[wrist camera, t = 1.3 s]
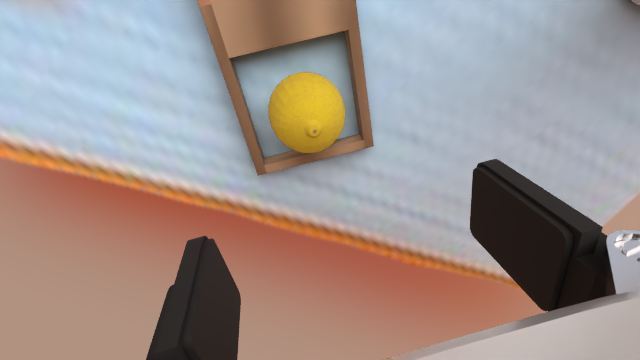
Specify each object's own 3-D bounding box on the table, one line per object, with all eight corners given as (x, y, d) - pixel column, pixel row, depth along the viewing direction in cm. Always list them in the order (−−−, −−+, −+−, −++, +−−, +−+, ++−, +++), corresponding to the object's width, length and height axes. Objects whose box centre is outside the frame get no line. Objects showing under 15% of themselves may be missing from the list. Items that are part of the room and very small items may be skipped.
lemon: (287, 140, 28) (295, 183, 21) (255, 83, 26) (252, 113, 19) (342, 111, 28) (369, 147, 21) (316, 51, 25) (337, 69, 18)
